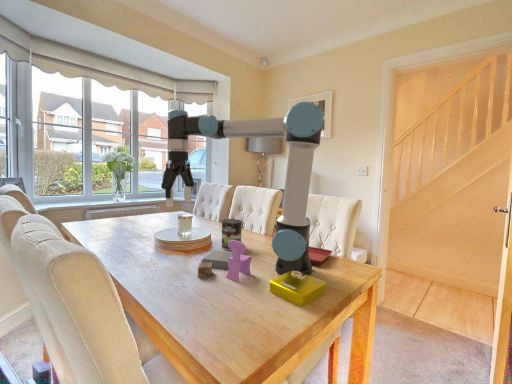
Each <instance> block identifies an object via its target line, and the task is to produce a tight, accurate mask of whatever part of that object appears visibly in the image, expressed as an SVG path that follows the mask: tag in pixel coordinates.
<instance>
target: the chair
mask: <svg viewBox="0 0 512 384" xmlns="http://www.w3.org/2000/svg"><path fill="white" fill-rule="evenodd" d="M228 247H229V248H230V249H231V250H232V251H231V252H232V257H229V258H228V267H229V269H227V270H228V271H227V274H226V276H225V279H228V280H232V281H236V282H240V280H241V279H240V276H239V273H243V274H246V275H247V274H248V275H251V273H252V272H251V268H250V267H251V262H252V256H250V255H245V254H244V253H245V252H246V250H247V246H246V244H244V243H243V242H242V241H241V242H240V241H237V240H230V241H229V242H228Z"/></svg>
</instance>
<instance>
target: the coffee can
mask: <svg viewBox="0 0 512 384" xmlns="http://www.w3.org/2000/svg"><path fill="white" fill-rule="evenodd" d="M242 223H243V220H240V219H235V218H228V219H227V218H226V219H223V220H221V249H222V250H223V251H229V252H232V250H231V249H230V248H229V247H228V242H229V241H230V240H237V241H240V242H242Z"/></svg>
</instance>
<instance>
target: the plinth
mask: <svg viewBox="0 0 512 384" xmlns="http://www.w3.org/2000/svg"><path fill="white" fill-rule="evenodd" d="M229 257H232V251H228V250H218V249H217V250H216V249H214V250H212V251H211V252H210V253H208V254H206V256H205V257H202V259H201V260H200V261H201V262H200V263H212V268H214V269H215V268H216V269H224V270H229V267H228V258H229Z"/></svg>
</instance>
